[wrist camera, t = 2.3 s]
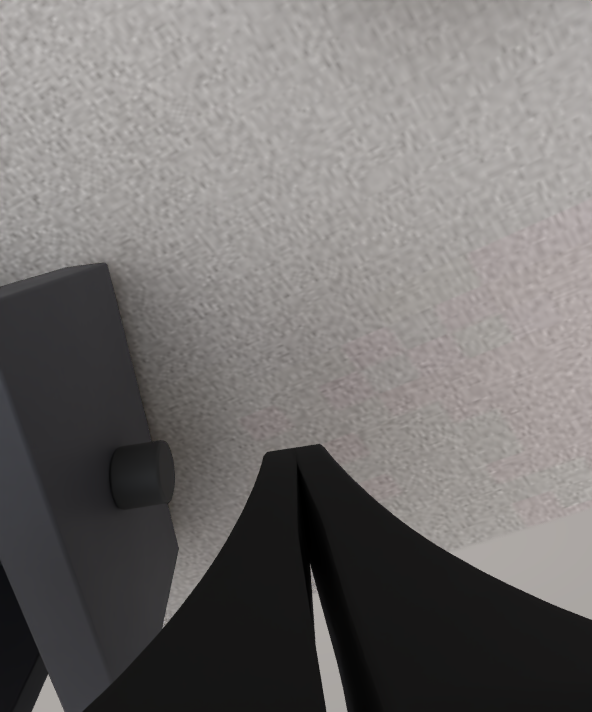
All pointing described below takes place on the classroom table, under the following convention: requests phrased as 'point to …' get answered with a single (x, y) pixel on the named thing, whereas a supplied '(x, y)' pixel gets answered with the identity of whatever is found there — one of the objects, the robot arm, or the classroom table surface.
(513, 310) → the classroom table surface
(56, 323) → the drawer
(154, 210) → the classroom table surface
